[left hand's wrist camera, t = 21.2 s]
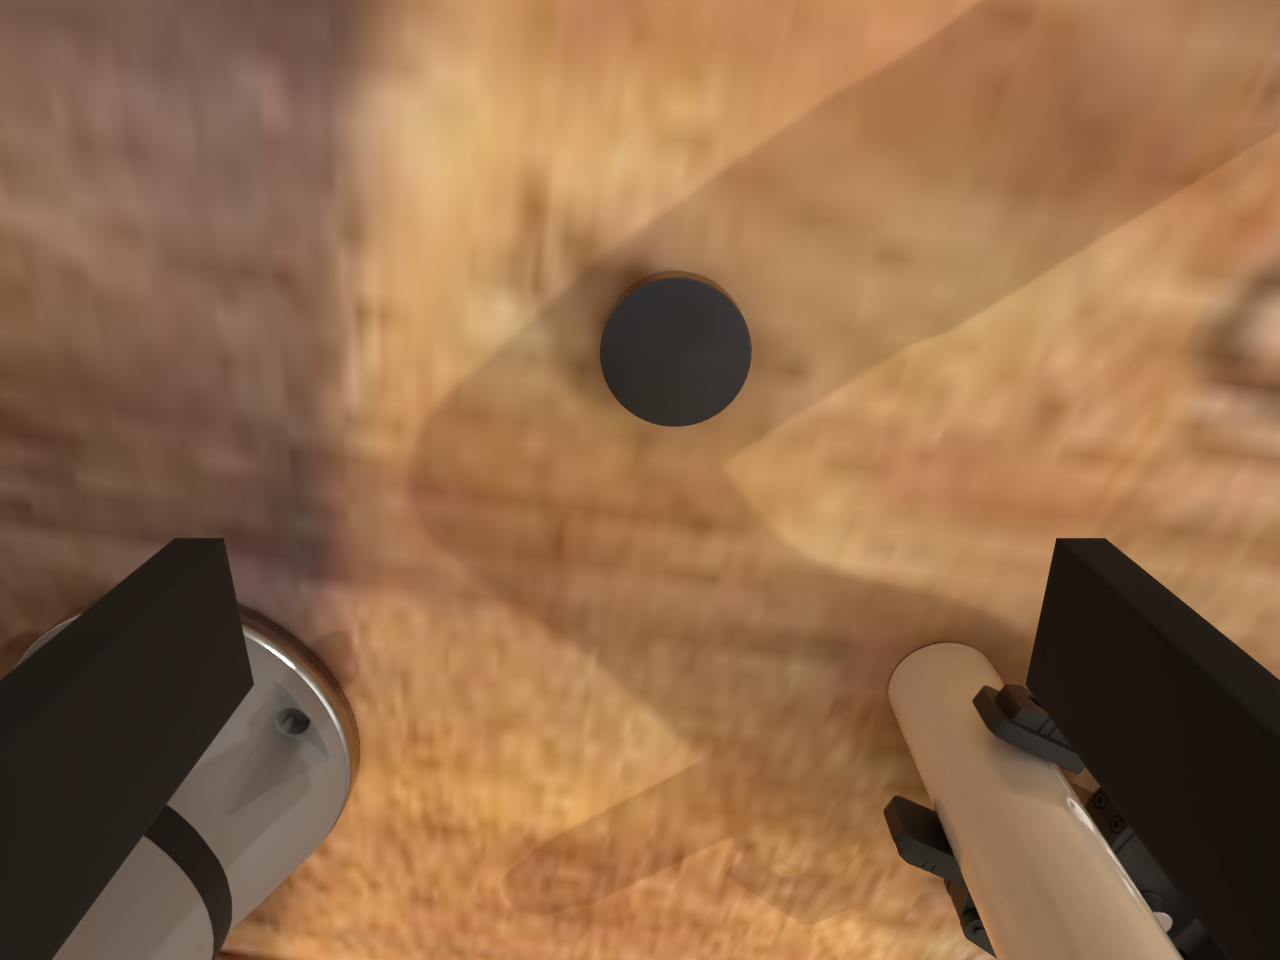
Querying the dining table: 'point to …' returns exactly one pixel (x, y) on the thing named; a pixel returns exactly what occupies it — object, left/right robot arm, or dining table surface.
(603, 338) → the lid
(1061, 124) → the dining table surface
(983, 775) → the cream cylindrical bottle
